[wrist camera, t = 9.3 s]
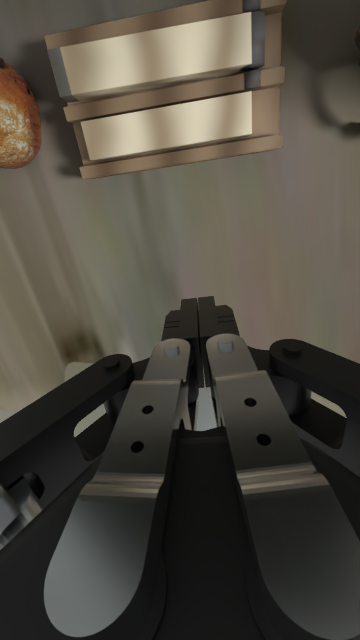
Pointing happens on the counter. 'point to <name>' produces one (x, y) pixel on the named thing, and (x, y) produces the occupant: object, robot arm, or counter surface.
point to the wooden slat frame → (180, 101)
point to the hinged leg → (160, 57)
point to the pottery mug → (358, 43)
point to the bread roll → (17, 120)
